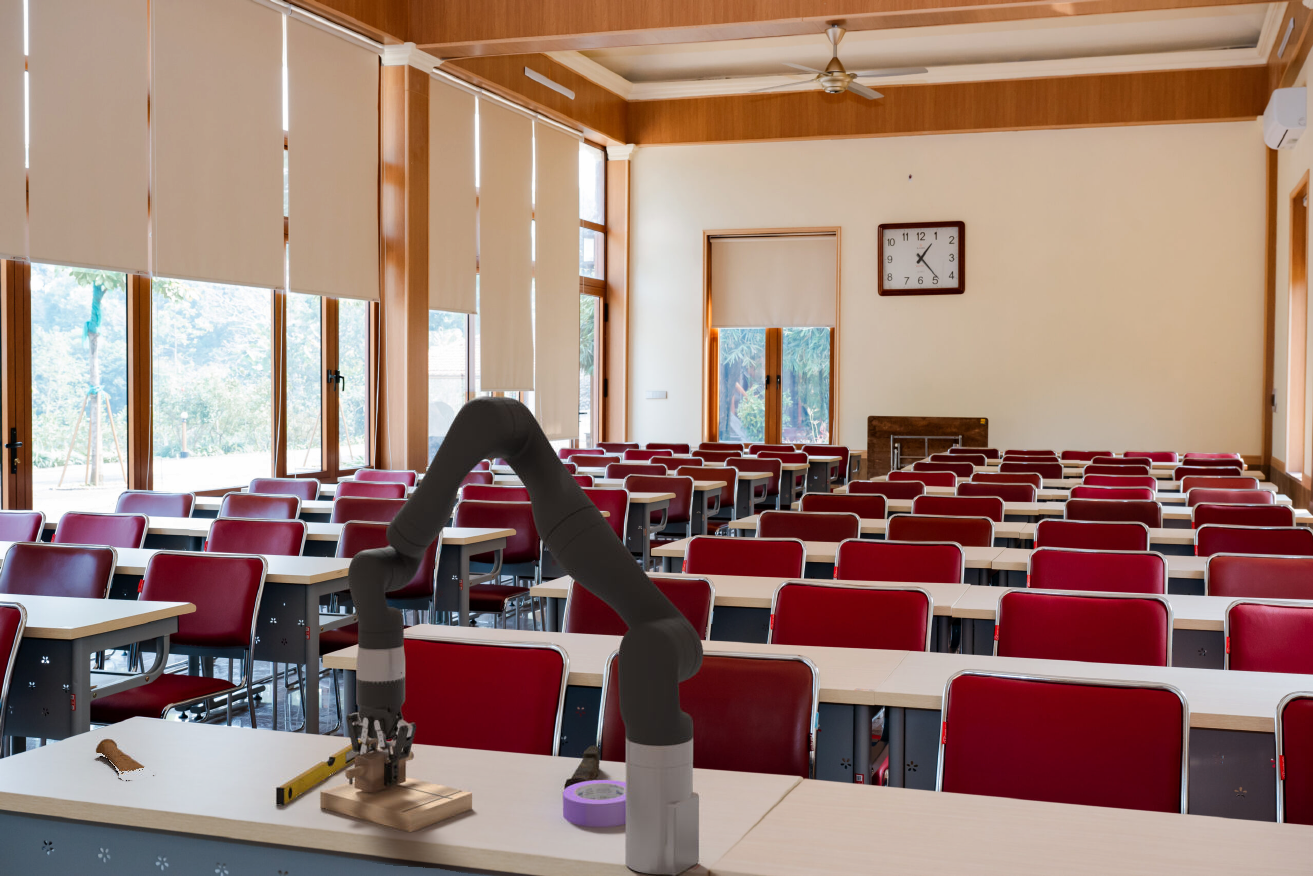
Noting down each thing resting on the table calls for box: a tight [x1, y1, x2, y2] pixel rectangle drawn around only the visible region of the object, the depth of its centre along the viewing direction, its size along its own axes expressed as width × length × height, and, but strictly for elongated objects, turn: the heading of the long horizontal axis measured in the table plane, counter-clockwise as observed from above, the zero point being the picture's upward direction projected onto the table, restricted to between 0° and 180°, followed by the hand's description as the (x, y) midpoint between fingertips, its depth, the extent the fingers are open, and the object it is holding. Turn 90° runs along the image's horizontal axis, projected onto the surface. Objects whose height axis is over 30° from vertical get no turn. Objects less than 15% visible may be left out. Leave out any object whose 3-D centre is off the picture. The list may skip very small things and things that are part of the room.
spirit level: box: [275, 738, 371, 806], centre depth 202 cm, size 33×1×3 cm, turn 169°
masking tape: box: [562, 779, 626, 828], centre depth 181 cm, size 12×12×4 cm
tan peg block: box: [344, 747, 415, 793], centre depth 186 cm, size 4×13×5 cm, turn 146°
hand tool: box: [563, 744, 601, 791], centre depth 197 cm, size 19×4×5 cm, turn 171°
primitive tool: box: [95, 738, 145, 774], centre depth 206 cm, size 19×6×4 cm, turn 44°
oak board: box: [319, 776, 473, 833], centre depth 184 cm, size 20×13×3 cm, turn 56°
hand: (380, 782), depth 186 cm, fingers closed on tan peg block, 4 cm apart
